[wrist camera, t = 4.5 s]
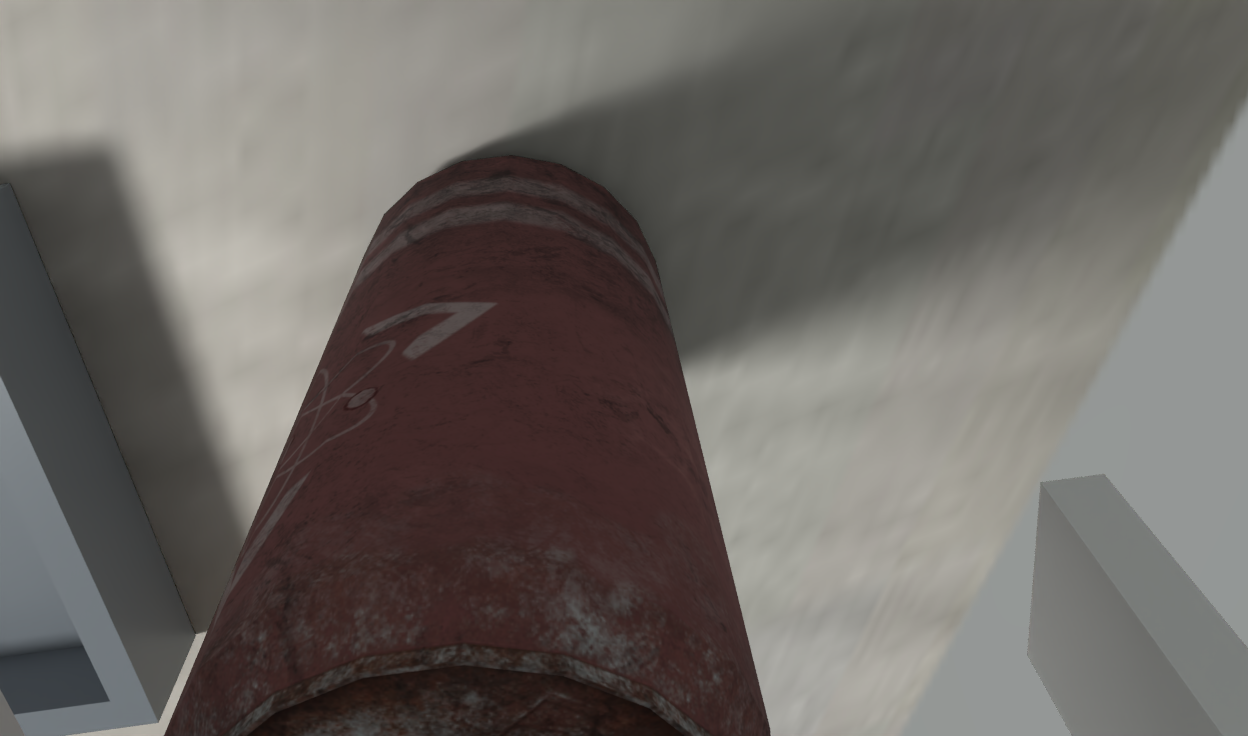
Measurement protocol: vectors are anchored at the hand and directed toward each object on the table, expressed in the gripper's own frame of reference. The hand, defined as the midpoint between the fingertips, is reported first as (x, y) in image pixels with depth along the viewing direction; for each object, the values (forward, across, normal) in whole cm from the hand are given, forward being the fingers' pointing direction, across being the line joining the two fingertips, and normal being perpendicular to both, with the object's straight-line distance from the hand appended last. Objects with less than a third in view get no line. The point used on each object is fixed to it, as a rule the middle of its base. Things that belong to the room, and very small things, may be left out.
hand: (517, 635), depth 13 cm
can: (+10, 0, 0) cm, 11 cm away
